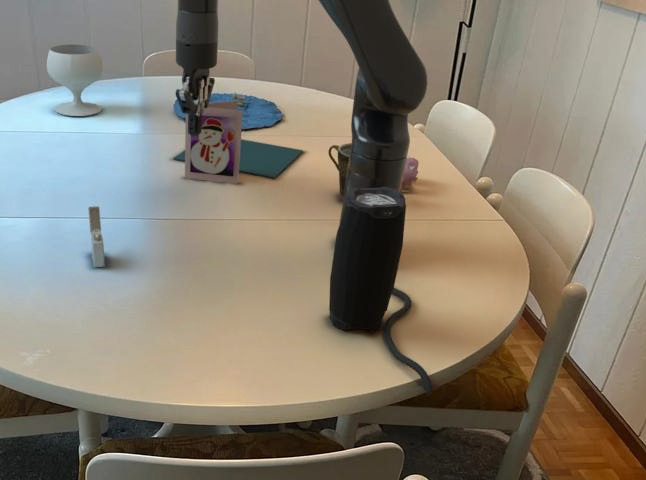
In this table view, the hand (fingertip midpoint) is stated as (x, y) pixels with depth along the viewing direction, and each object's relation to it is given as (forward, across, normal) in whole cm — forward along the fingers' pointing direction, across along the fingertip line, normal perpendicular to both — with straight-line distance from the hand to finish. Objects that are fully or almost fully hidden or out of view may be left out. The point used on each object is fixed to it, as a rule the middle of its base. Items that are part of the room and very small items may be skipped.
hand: (194, 134), depth 137 cm
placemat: (+12, -25, 0) cm, 28 cm away
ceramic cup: (+12, -13, +29) cm, 34 cm away
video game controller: (+12, -25, +37) cm, 46 cm away
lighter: (+12, +34, -2) cm, 36 cm away
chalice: (+12, -36, -50) cm, 63 cm away
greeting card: (+12, -10, 0) cm, 16 cm away
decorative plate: (+12, -55, -15) cm, 58 cm away
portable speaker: (+12, +34, +42) cm, 55 cm away
